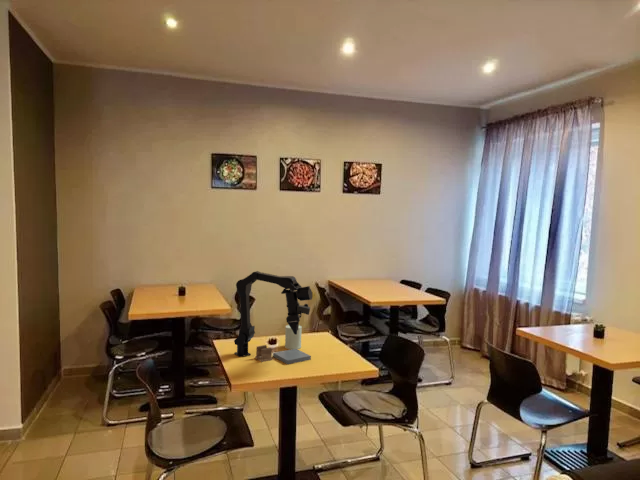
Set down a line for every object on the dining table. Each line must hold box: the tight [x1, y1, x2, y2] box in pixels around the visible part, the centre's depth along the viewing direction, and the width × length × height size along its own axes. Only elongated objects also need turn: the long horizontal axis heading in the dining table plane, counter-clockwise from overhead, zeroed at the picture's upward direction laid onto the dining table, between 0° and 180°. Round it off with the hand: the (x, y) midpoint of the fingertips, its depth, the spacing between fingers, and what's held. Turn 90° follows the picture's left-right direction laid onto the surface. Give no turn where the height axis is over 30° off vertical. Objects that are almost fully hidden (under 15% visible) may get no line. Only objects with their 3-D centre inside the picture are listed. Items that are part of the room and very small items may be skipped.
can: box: [284, 324, 303, 350], centre depth 252 cm, size 9×9×12 cm
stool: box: [254, 344, 273, 363], centre depth 230 cm, size 7×6×6 cm
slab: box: [272, 349, 312, 365], centre depth 233 cm, size 14×14×2 cm
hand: (296, 332), depth 227 cm, fingers open, 9 cm apart
